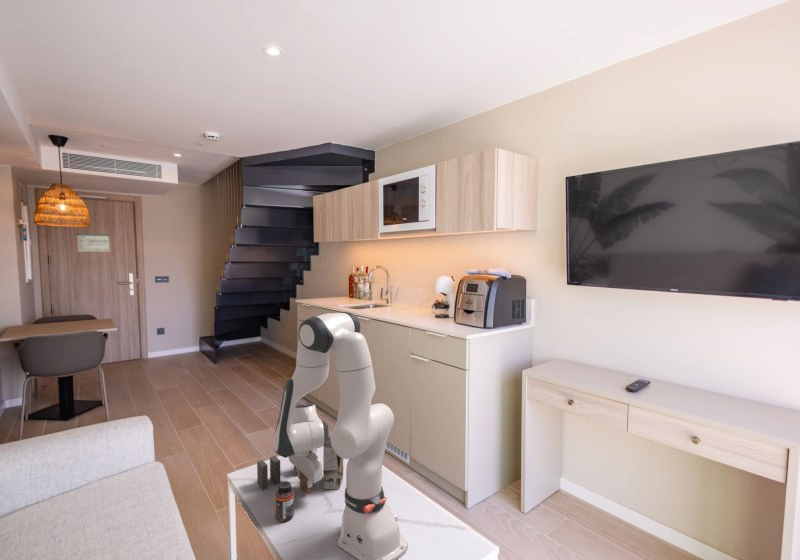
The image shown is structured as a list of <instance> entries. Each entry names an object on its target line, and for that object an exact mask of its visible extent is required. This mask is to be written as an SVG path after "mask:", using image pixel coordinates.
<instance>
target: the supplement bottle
mask: <svg viewBox="0 0 800 560" xmlns="http://www.w3.org/2000/svg"><path fill="white" fill-rule="evenodd" d="M277 486H278V487H277V488H278V489H277V490H276V491H275V496H274V497H275V498H274V499H275V520H277V521H278V522H281V523H283V522H284V523H286V522H288V521H290V520H291V519H293V517H294V515H295V492H294V488H293V487H292V484H291V482H290V481H288V480H287V481H281V483H280V484H278V485H277Z"/></svg>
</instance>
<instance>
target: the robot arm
mask: <svg viewBox="0 0 800 560" xmlns="http://www.w3.org/2000/svg"><path fill="white" fill-rule="evenodd" d="M330 352H331V353H332V354H333V355H334V358H335V363H336V371H337V372H336V373H337V377H338V379H337V380H338V385H339V386H338V388H339V409H338V414H337V420H336V423H335V425H334V428H333V429H332V430H331V434H330V436H329V425H328V423H327V422H326V421H325V420H323V419H321V418H320V417H319V415H318V412H317V408H316V407H317V406H316V404H315V403H313V402H305V403H299V404H297V403H298V402H299V401H300V400H301V398H303V397H305V396H306V395H309V393H311V392H313V391H316V390H317V389H319V387H321V386H322V385H323V384H324V383H325V382H326V380H327V379H328V376H329V373H330ZM295 362H296V363H295V365H296V366H295V369H294V372H293V374H292V376H291V378H289V379H288V380H287V381H286V383H285V385H284V389H283V393H282V398H281V402H280V403H281V404H280V409H279V413H278V420H277V423H276V427H275V431H274V435H273V440H272V442H273V443H272V444H273V449H274V452H275V453H276V454H277V455H279V456H280V457H282V458H283V459H284V458H288V460H289V462H290V463H291V464H292V465H293V467H294V466H295V467H296V469H297V473H298V474H297V473H296V474H297V479H298V480H299V481H300V471H301V472H302V473H303V474H304V475H305V476H306V477H307V479H308V481H307V482H306V486H307V487H308V488H310V487H311V488H312V487H313V484H316V483H318V482H319V481H321V480H323V465H322V460H321V459H320V458H319V457H318V455H317V454H316V455H315V454H314V453H317V451H318V449H319V448H323V447H324V445H325V444H326V442H327V440H328V437H331V438H330V441H331V446H332V449H333V450H334V452H335V453H336V454H337V455H338V456H339V457H341V458H343V460H344V459H345V460H348V461H347V463H346V468H345V470H346V472H345V473H346V475H345V477H346V479H345V481H346V485H345V489H344V503H345V505H344V510H343V513H342V517H341V528H340V534H339V535H340V536H339V537H338V540H337V546H338V547H339V548H340V549H342V550H344V551H345V552H347V553H348V554H350V555H351V556H353V557H354V558H356V559H357V560H398V559H399V558H401V557H402V556H403V555H404V553H406V551H407V549H408V547H409V544H408V541H407V540H406V539H405V537H404V536H403V534H402V533H401V532H400V526H399V523H398V516H397V513H392V512H391V510H390V508H389V504H387V503H386V502H387V501H388V500H387V498H388V497H386V496H385V491H384V489H383V485H382V474H383V462H384V456H385V451H386V448H387V442H388V439H389V435H390V433H391V431H392V428H393V426H394V424H395V416H394V413H393V411H392V409H391V408H390V407H389V406H388V405H387V404H385V403H382V402H381V403H380V402H379V403H375V404H374V403H373V404H372V402H373V398H374V395H375V393H376V381H375V380H376V379H375V373H374V368H373V361H372V356H371V352H370V349H369V345H368V343H367V340H366V338H365V336H364V335H363V334H362V333H361V322H360V320H359V318H358V317H357V316H356V314H354V313H352V312H349V311H341V312H331V313H329V312H328V313H323V314H320V315H317V316H311V317H308V318H306V319H305V320H303V321H302V322H301V323H300V325H299V328H298V343H297V350H296V361H295Z"/></svg>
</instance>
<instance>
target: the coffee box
mask: <svg viewBox="0 0 800 560" xmlns="http://www.w3.org/2000/svg"><path fill="white" fill-rule="evenodd" d="M330 438H331V436H329V437H328V440H327V442H326V444H325V445H324V446H322V448H323V453H322V454H323V456H322V457H323V459H322V460H323V463H322V464H323V465H322V481H323V483H322V484H323V490H340V488H341V485H342V482H343V478H344V459H343V458H341V457H339V456H338V455H337V454H336V453H335V452H334V450H333V449H332V446H331V441H330Z"/></svg>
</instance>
